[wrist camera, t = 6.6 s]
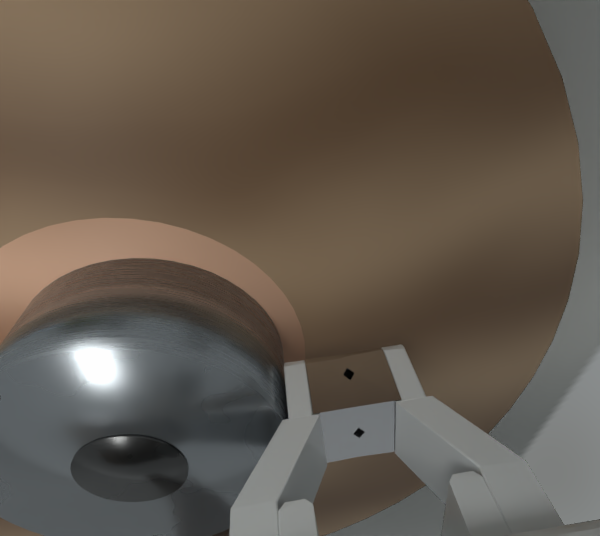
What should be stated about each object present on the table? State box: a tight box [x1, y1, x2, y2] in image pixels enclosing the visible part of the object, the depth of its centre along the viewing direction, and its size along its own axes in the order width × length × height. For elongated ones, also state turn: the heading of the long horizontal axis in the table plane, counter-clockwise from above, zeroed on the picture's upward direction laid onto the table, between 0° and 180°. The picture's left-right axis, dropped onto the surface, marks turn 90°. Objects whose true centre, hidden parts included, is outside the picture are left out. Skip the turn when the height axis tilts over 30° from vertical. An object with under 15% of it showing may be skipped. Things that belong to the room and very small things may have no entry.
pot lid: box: [0, 258, 288, 536], centre depth 10 cm, size 7×7×3 cm
